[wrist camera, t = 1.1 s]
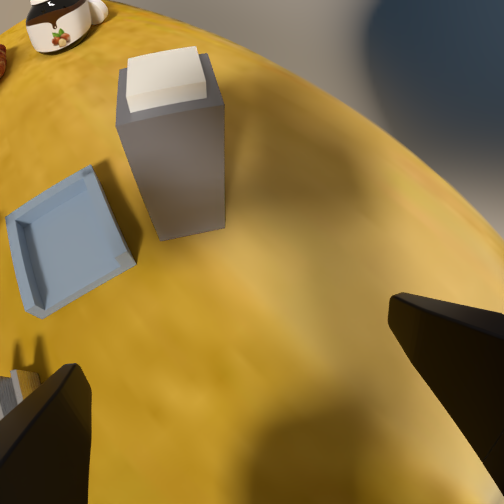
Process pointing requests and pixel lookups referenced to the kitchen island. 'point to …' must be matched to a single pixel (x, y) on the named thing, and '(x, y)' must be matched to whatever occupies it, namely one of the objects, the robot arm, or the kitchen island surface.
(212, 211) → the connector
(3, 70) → the croissant
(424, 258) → the kitchen island surface
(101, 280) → the holder
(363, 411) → the kitchen island surface
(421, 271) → the kitchen island surface
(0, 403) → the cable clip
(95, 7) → the spread jar
